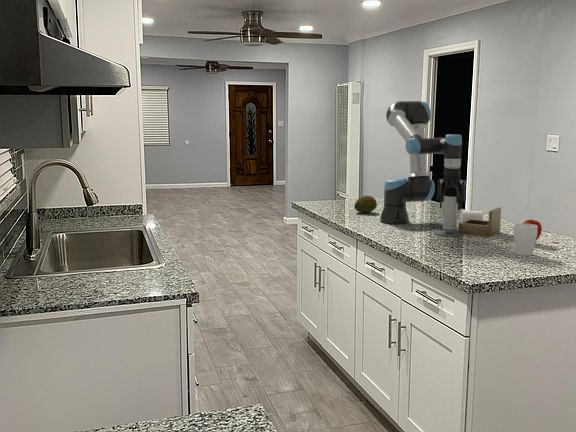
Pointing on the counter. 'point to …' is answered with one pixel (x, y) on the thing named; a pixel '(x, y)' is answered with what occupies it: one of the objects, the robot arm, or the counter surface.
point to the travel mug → (449, 210)
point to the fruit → (365, 204)
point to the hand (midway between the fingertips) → (450, 215)
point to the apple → (539, 228)
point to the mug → (471, 215)
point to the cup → (525, 239)
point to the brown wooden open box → (482, 225)
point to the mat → (449, 233)
